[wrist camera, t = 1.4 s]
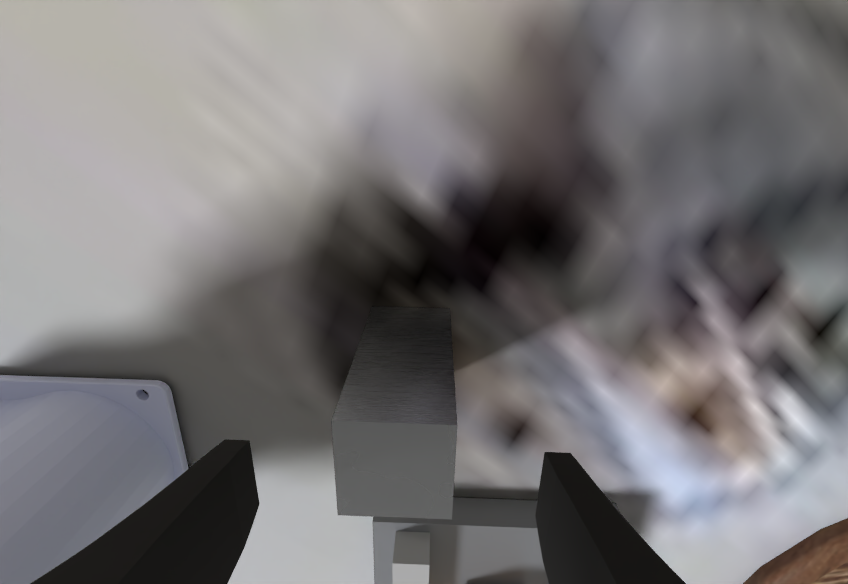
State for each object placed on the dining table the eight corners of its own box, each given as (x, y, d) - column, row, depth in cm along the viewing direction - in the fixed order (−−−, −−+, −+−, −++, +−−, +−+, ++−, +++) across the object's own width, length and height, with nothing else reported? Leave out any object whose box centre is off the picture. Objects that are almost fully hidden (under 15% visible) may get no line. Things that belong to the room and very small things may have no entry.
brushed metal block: (374, 372, 18) (337, 514, 12) (372, 306, 17) (331, 421, 10) (446, 375, 18) (451, 519, 11) (449, 308, 17) (457, 425, 10)
